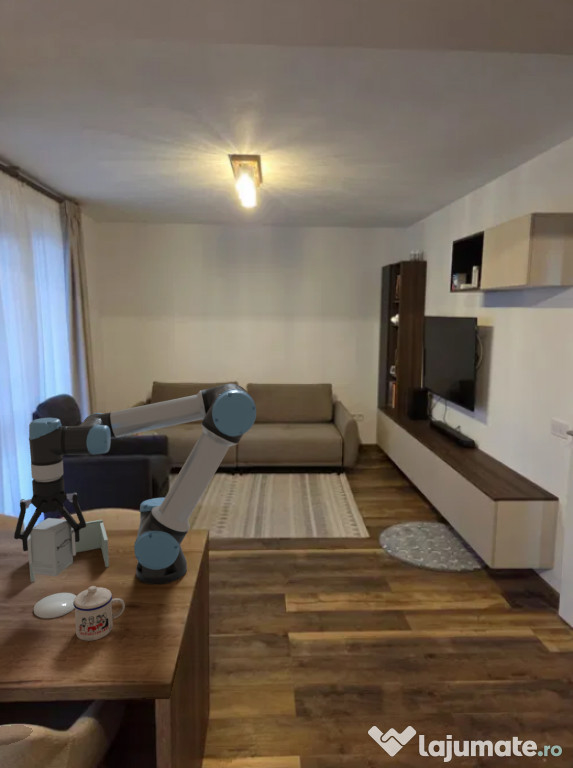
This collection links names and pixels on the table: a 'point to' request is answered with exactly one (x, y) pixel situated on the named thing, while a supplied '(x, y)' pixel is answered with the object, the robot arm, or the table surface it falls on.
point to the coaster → (55, 605)
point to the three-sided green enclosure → (89, 541)
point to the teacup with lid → (95, 613)
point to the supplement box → (51, 546)
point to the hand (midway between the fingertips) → (52, 557)
